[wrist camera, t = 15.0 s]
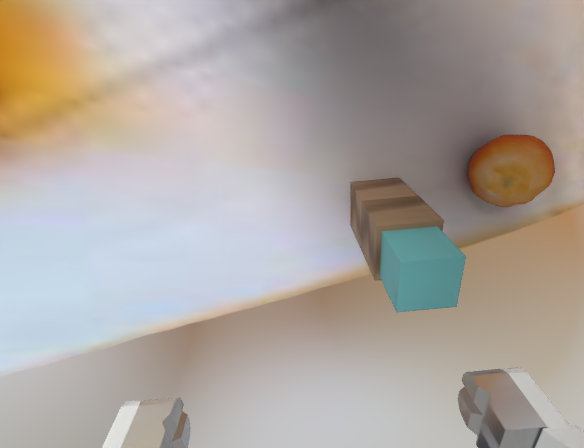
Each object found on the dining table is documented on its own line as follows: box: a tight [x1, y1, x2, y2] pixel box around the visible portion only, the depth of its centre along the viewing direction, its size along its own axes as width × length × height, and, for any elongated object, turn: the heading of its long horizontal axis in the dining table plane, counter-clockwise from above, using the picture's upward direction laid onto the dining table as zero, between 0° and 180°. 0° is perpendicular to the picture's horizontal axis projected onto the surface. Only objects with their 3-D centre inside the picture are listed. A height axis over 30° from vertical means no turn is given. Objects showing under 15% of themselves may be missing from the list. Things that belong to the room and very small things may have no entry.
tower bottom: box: [351, 178, 418, 248], centre depth 38 cm, size 6×6×6 cm
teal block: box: [380, 226, 466, 312], centre depth 28 cm, size 5×5×5 cm
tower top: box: [361, 196, 444, 280], centre depth 33 cm, size 6×6×6 cm
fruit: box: [468, 135, 555, 207], centre depth 36 cm, size 8×8×8 cm
